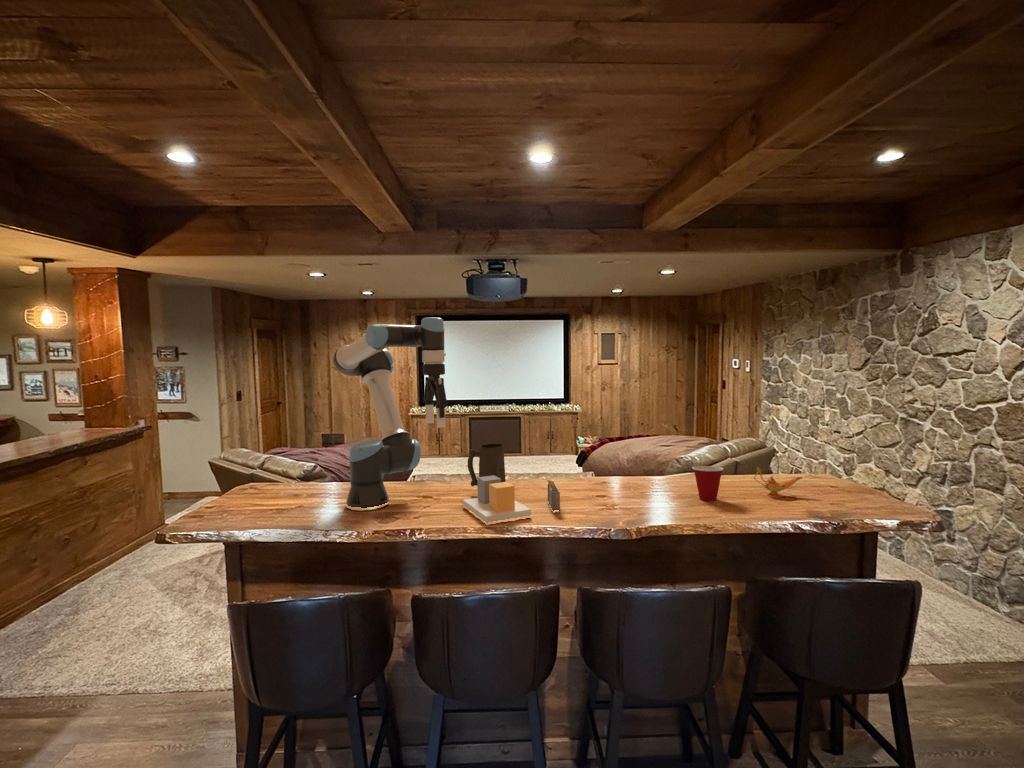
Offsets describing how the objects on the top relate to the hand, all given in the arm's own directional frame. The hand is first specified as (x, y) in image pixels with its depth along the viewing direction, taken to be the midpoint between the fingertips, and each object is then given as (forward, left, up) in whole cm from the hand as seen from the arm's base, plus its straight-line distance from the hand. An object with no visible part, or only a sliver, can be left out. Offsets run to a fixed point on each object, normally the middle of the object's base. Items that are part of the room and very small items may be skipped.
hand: (435, 425), depth 176 cm
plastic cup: (+31, +93, -31) cm, 103 cm away
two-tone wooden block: (+15, +18, -28) cm, 36 cm away
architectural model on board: (+14, +38, -31) cm, 51 cm away
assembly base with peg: (+9, +18, -31) cm, 37 cm away
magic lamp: (+40, +119, -31) cm, 129 cm away
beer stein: (-14, +24, -31) cm, 42 cm away
